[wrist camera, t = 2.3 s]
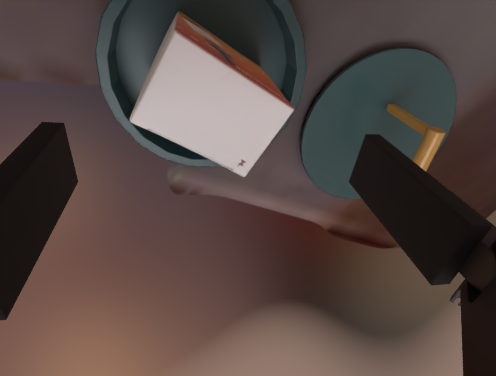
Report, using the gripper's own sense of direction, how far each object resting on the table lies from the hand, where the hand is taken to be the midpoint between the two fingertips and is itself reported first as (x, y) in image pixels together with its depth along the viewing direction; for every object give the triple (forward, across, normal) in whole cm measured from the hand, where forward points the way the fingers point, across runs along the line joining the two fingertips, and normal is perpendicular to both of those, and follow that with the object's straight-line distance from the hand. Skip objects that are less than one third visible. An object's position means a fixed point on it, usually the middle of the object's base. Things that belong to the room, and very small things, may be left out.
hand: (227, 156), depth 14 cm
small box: (+15, 0, 0) cm, 15 cm away
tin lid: (+15, +18, -5) cm, 24 cm away
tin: (+15, 0, 0) cm, 15 cm away
